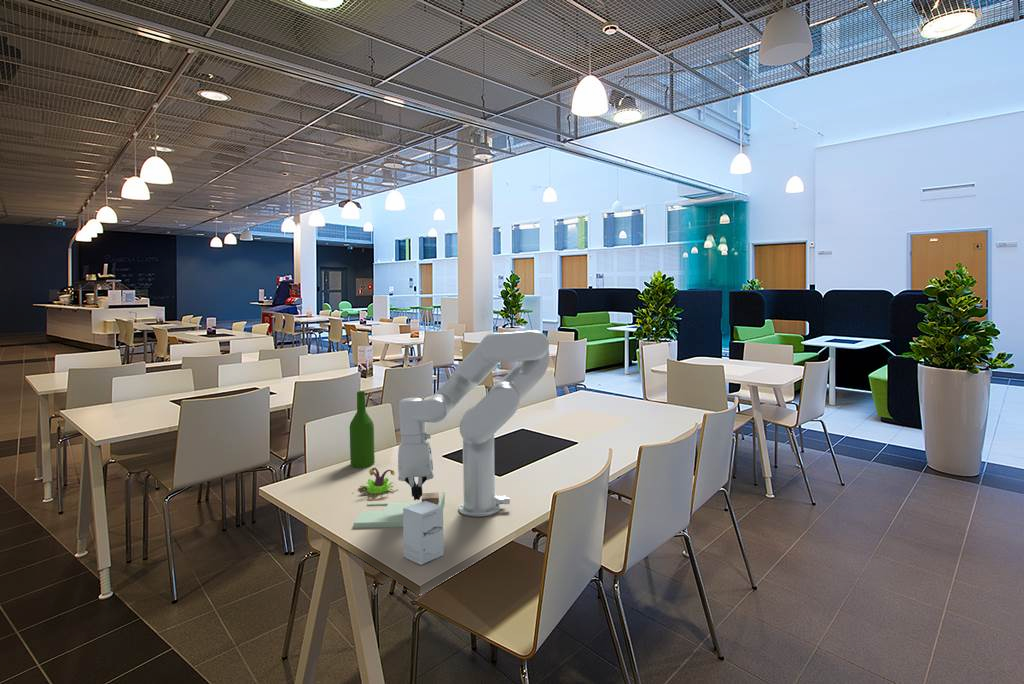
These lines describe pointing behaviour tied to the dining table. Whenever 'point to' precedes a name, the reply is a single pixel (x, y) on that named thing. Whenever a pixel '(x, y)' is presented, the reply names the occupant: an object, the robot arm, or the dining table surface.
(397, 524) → the board
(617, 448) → the dining table surface
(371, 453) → the wine bottle
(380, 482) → the plant
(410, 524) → the supplement box
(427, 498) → the walnut block
